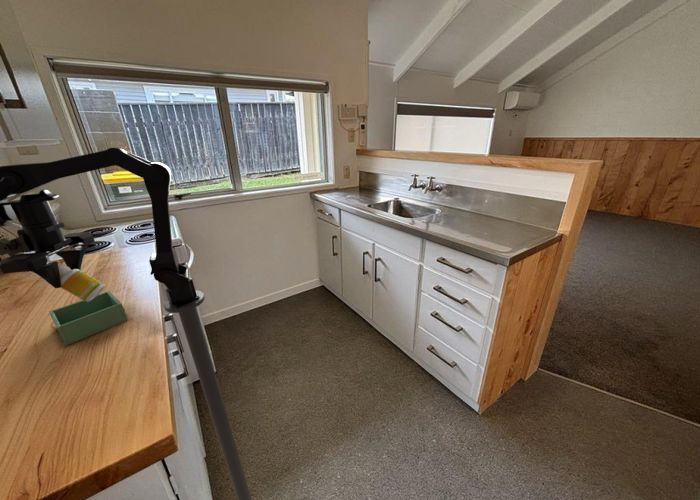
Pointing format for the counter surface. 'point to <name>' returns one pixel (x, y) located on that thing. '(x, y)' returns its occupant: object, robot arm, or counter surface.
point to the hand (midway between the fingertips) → (67, 282)
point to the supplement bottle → (79, 283)
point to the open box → (88, 317)
